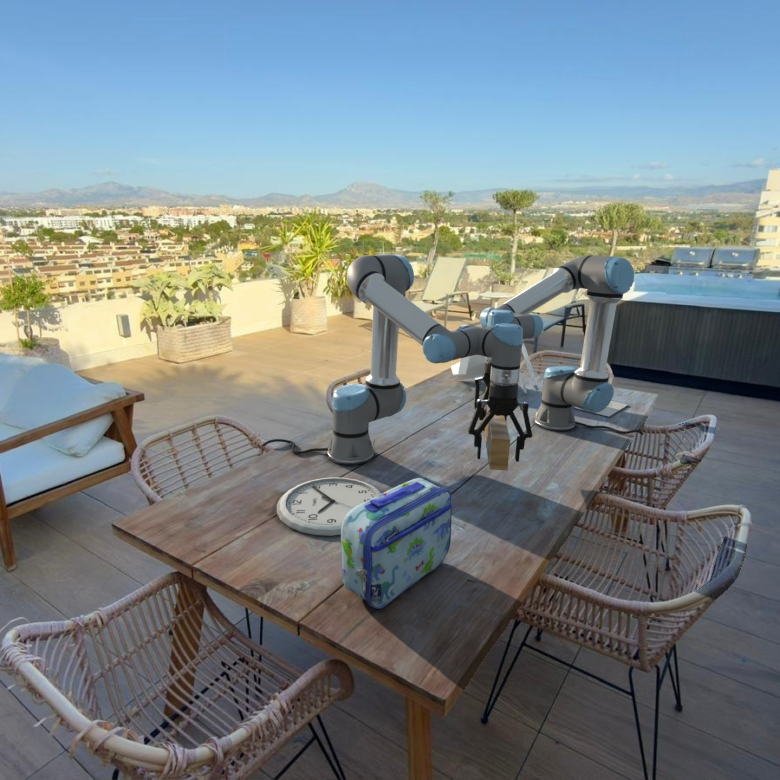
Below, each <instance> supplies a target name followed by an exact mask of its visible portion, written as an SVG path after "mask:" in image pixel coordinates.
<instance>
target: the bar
mask: <svg viewBox="0 0 780 780" xmlns="http://www.w3.org/2000/svg"><path fill="white" fill-rule="evenodd" d="M484 409H485V410H486V415H487V413H488V411H489V410H490V408H489V407H488V405H487V404H486V405H485V408H484ZM483 432H484V434H483V435H484V438H485V439H484V440H485V447H486V454H487V461H488V467H489V468H488V469H489V470H493V471H494V470H496V471H508V469H509V460H510V459H509V458H510V448H511V436H510V434H509V429H508V425H507V420H506V421H505V417H504V416H502V415H501V416H496V415H494V417H493V418H492V419H491V420H490V422H489V423H488V424H487V426H486V427H485V430H484V431H483Z"/></svg>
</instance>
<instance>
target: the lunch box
mask: <svg viewBox="0 0 780 780" xmlns="http://www.w3.org/2000/svg"><path fill="white" fill-rule="evenodd" d="M451 539H452V494H451V491H450V490H449V488H447V487H445V486H444V487H443V486H442V488H441V487H440V486H439V487H438V486H437V485H435V484H434V483H432V482H430V481H428V480H426V479H424V478H421V477H416V478H413V479H410V480H408V481H405V482H403V483H402V484H398V485H397V486H395V487H392V488H390V489H389V490H386V491H384V492H382V494H380V495H378V496H376V497H374V498H372V499H370V500H368V501H366V502H364V503H362V504H360V505H358V506H356V507H354V508H353V509H351V510H350V511H349V512H348V514H347V515H346V517H345V518H344V520H343V523H342V528H341V535H340V546H341V569H342V570H341V571H342V582H343V585H344V588H345V589H346V590H347V591H349V592H351V593H353V594H355V595H356V596H358V597H359V598H361V599H362V600H364V601H365V602H366V603H367V605H368V606H370V607H372V608H374V609H378V610H379V609H380V610H381V609H383V608H384V607H387V605H389V604H390V603H391V602H392V601H393V600H395V599H396V598H397V597H399V596H400V595H402V594H403V593H404V592H405V591H407V590H408V589H409V588H411V587H412V586H413V585H415V584H416V583H418V581H419V580H420V579H421V578H423V577H425V576H427V575H428V574H429V573H431V572H432V571H434V570H435V569H437V568H438V567H439V566H441V564H442V563H443V562H444V561H445V559H446V557H447V556H448V554H449V550H450V547H451V541H452V540H451Z"/></svg>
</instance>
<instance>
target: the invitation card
mask: <svg viewBox="0 0 780 780" xmlns="http://www.w3.org/2000/svg"><path fill="white" fill-rule="evenodd" d="M628 406H629V404H627V403H623V402H618V401H614V400H611V402H610V403H609V405H608V406H607V407H606V408H605V409H604V410H602V411H600V412H597V413H595V414H596V415H600V416H604V417H608V418H609V417H611V416H613V415H614V414H616V413H617V412H619V411H621V410H623V409H624V408H626V407H628ZM573 409H575V410H581V411H584V412H586V411H585V410H583V409H581V408H578V407H575V406H573ZM587 413H593V412H590V411H587ZM593 414H594V413H593Z"/></svg>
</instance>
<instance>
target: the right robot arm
mask: <svg viewBox="0 0 780 780" xmlns="http://www.w3.org/2000/svg"><path fill="white" fill-rule="evenodd" d="M634 281H635V271H634V267H633V264H632V263H631V262H630V260H628V259H627V258H625V257H620V256H614V255H612V256H610V255H609V256H608V255H595V254H586V255H581V256H578V257H575V258H572V259H571V260H568V261H566V262H564V263H562V264H560V265H558V266H557V267H556V268H554V269H553V270H552V272H551V274H550V275H548V276H547V277H545V278H543V279H542V280H540V281H538V282H537V283H535V284H534V285H532V286H529V288H527V289H525V290H524V291H522V292H521V293H519V294H517V295H516V296H514V297H512V298H511V299H509V300H507V301H506V302H503V303H502V304H501V305H499V306H497V307H487V308H485V309H483V310H482V311H481V312H480V314H479V324H480V327H482V328H487V329H492V330H494V327H495V325H496V324H500V323H509V324H517V325H520V326H521V327H522V328H523V340H527V339H528V340H530V339H533V338H538V337H539V336H540V335H542V333H543V331H544V322H543V321H544V320H543V319H542V317H541V316H540V315H538V314H535V313H533V312H534V311H536V310H538V309H539V308H540V307H542V306H544V305H546V304H547V303H548V302H550V301H552V300H553V299H556V297H558V296H560V295H562V294H563V293H564V294H568V293H570V292H571V291H573V290H577V289H583V290H586V297H587V298H588V300H589V307H588V311H587V318H586V319H587V320H586V326H585V333H584V338H583V345H582V352H581V358H580V363H579V367H578V368H577V367H574V366H567V365H557V366H550V367H547V368H546V369H545V370H544V375H543V378H542V379H543V381H542V392H541V402H540V405H539V407H538V410H537V411H536V413H535V417H534V424H535V425H536V426H537V427H539V428H542V429H544V430H549V431H556V432H567V431H572V430H574V429H575V428H576V425H577V426H578V425H579V426H581V427H584V428H588V429H606V430H609V431H612V432H614V433H617V434H622V435H628V434H633V433H638V434H640V435H641V436H644V435H645V434H644V432H643V431H641V430H640V429H631V430H619V429H616V428H614V427H611V426H607V425H591V424H586V423H583V422H579V421H576V418H575V417H576V416H575V413H574V407H578V408H581V409H583V410H582V411H584V410H585V411H584V412H588V411H590V412H589V413H592V412H593V414H596V413H597V412H600V411H602V410H604V409H605V408H606V407H607V406H608V405H609V403H610V402H611V401H613V398H614V394H615V389H614V386H613V385H612V384H611V383H610V382H609V378H610V375H609V374H608V372H607V371H606V369H607V363H608V358H609V352H610V345H611V340H612V334H613V330H614V329H613V327H614V323H615V322H614V321H615V318H616V317H615V316H616V310H617V305H618V303H619V302H620V301H622V300H623V297H624V294H626V293H628V292H629V291H630V290H631V288H632V287H633V284H634ZM485 358H486V359H487V360H486V361H485V368H484V374H483V376H482V377H480V378H474V379H473V380H474V381H473V382H474V386H475V390H474V403H473V406H474V409H475V410H476V407H477V399H480V392H481V388H480V387H481V385H482V382H484V384H485V386H486V387H485V389H484V390H485V391H484V394H483V396H482V399H481V400H487V399H488V397H489V388H490V382H491V380H490V375H491V361H492V358H491V357H485ZM518 383H519V382H518ZM518 383H517V384H518ZM518 385H519V384H518ZM485 416H486V410H485V406H484V408H482V410H481V413H480V416H479V418H478V421H482V420H483V419H484V417H485ZM504 417H505V421H506V422H507V419H508V416H504ZM484 430H485V428H484ZM484 430H483V431H482V432H484Z"/></svg>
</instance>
